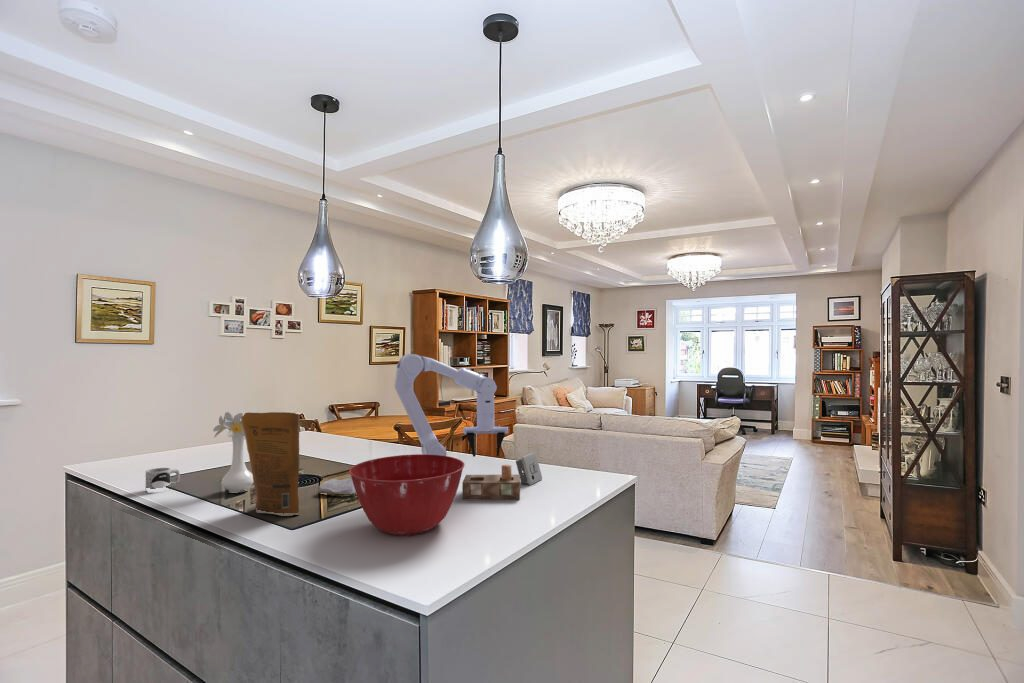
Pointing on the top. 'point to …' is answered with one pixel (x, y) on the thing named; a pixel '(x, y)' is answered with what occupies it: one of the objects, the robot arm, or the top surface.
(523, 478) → the electrical switch
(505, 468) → the peg
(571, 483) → the top surface
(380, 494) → the mixing bowl
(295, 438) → the pancake mix bag
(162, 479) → the mug
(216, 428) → the flower vase
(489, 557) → the top surface
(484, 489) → the socket block
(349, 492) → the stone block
